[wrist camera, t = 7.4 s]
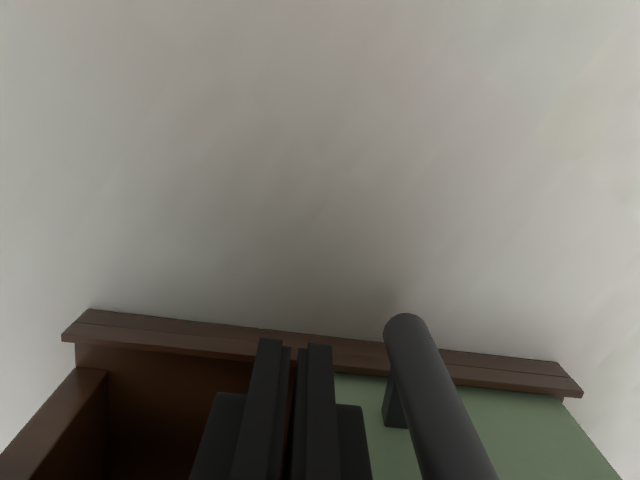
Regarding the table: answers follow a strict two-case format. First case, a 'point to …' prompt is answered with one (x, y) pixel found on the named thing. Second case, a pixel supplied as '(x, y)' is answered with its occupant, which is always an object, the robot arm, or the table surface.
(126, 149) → the table surface
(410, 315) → the sliding door
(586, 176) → the table surface
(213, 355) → the cabinet
